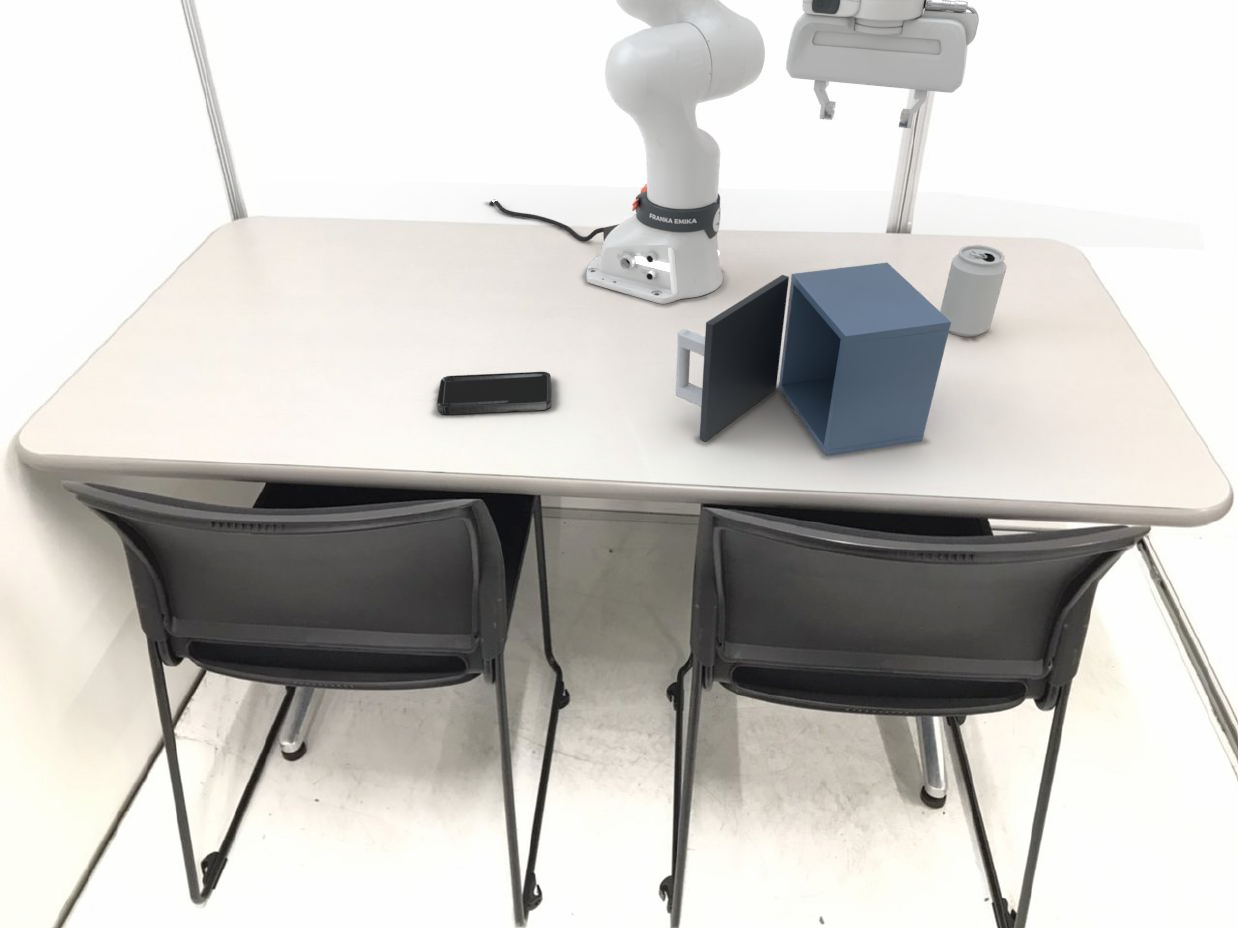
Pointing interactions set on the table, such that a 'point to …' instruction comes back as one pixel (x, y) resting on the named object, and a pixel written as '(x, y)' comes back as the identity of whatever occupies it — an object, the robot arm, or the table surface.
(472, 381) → the phone
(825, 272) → the blue cabinet body
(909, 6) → the robot arm
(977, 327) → the can
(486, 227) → the table surface
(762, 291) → the cabinet door
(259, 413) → the table surface
